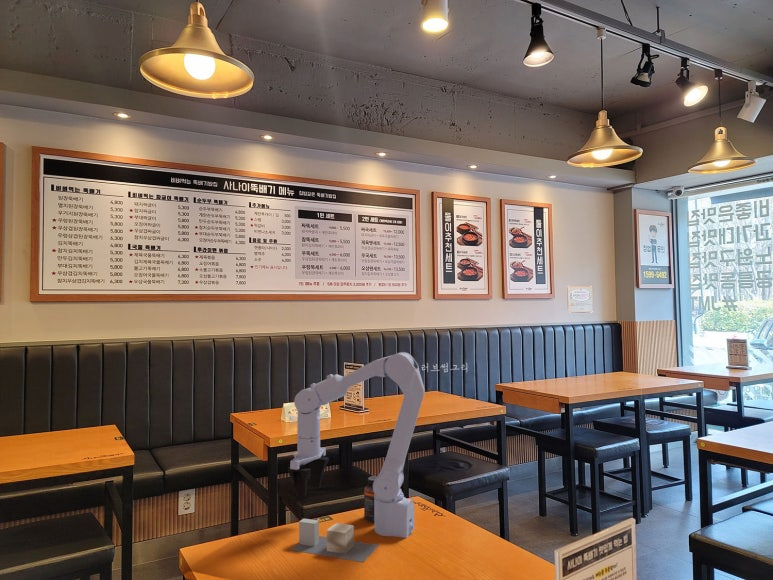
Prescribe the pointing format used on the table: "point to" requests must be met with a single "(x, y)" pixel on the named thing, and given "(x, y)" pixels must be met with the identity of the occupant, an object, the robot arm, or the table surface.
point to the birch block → (340, 538)
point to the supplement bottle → (369, 500)
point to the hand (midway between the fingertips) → (308, 491)
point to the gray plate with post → (318, 544)
